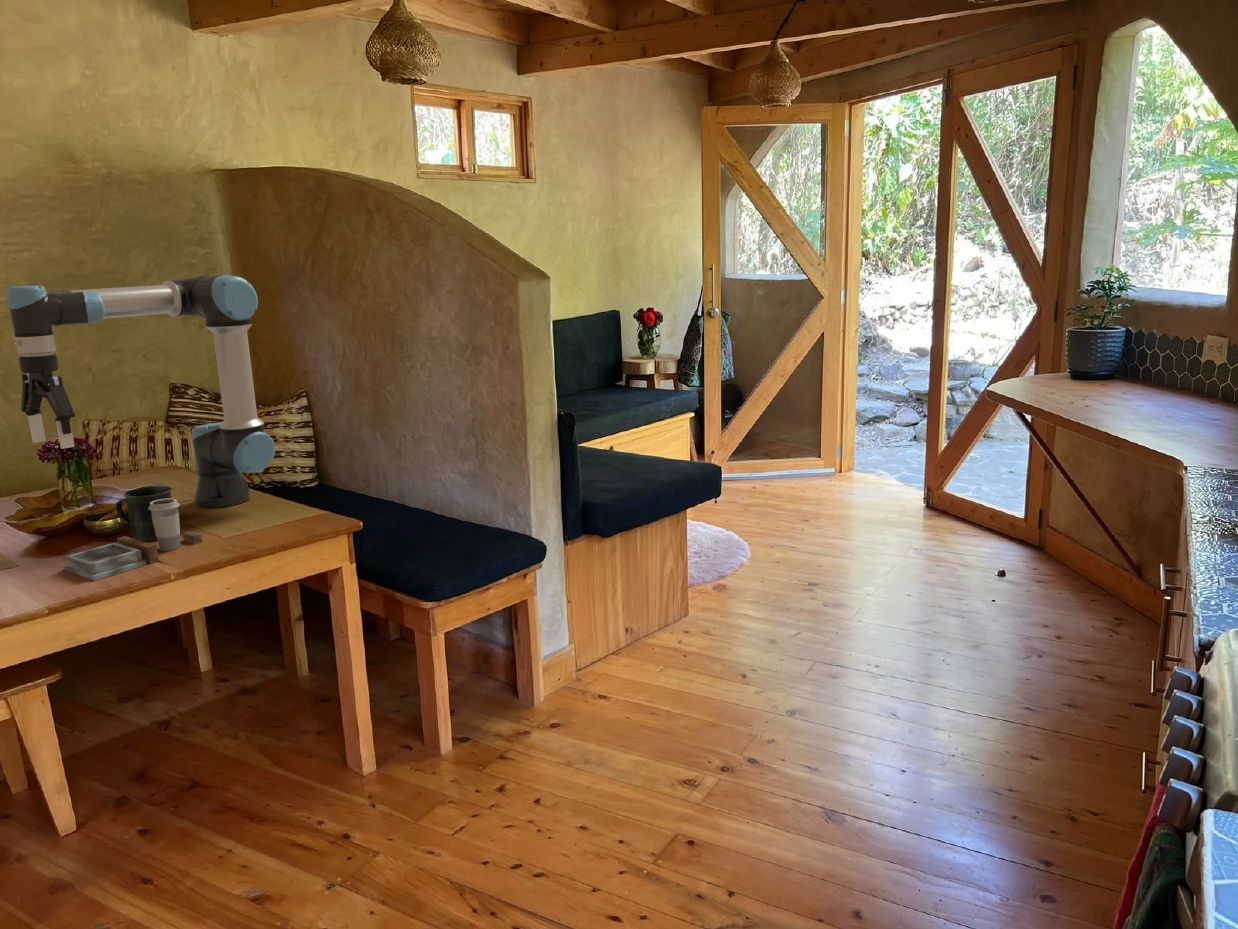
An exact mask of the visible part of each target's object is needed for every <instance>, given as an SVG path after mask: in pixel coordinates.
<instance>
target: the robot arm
mask: <svg viewBox="0 0 1238 929" xmlns="http://www.w3.org/2000/svg"><path fill="white" fill-rule="evenodd" d="M258 300H259V299H258V294H257V292H256V290H255V288H254V287H253V285H252V284H251V283H250V282H248V280H246V279H245V278H243V277H241V276H237V275H231V274H224V275H223V274H222V275H199V276H198V275H197V276H194V277H193V276H192V277H188V278H183V279H176V280H173V279H172V280H165V281H164V282H162V284H160V285H158V284H157V285H155V284H154V285H141V286H124V287H122V286H121V287H120V286H119V287H108V288H107V287H106V288H104V287H103V288H90V289H76V290H75V289H74V290H72V289H71V290H70V289H69V290H55V291H54V290H53V291H47V290H46V288H45V287H44V285H23V286H21V285H20V286H11V287H9V288H8V289H7V303H8V306H7V308H8V310H9V313H10V318H11V324H12V328H13V329H12V330H13V334H14V339H15V341H14V343H13V344H14V346H15V347H16V351H17V354H18V355H20V356H19V357H18V362H19V363H18V364H19V368H20V372H21V373H23V374H21V381H22V386H21V387H22V391H21V406H20V409H21V410H20V411H21V412H22V413H25V415H26V416H27V419H28V420H27V421H28V426H29V431H30V436H31V437H30V438H31V440H32V444H37V443H43V442H47V439H46V432H45V428H44V424H43V423H44V422H43V417H42V416H43V415H42V414H43V412H42V409H41V405H42V401H43V398H44V399H46V401H47V402H48V404H49V405H50V407H51V410H52V411H53V413H54V415H55V417H56V418H55V420H54V421H55V423H56V428H57V435H58V439H59V440H58V441H59V445H60V449H62V450H63V449H69V448H74V447H75V441H74V435H73V434H74V433H73V430H72V423H71V419H72V418H74V417H76V414H75V411H74V409H73V407H72V404H71V402H70V398H69V396H68V394H67V391H66V390H65V387H64V384H63V383H64V382H63V380H62V377H61V376H60V375H58V376H54V374H53V372H54V371H55V372H56V371H58V370H59V362H58V356H57V354H55V352H56V351H57V348H56V342H55V337H54V331H53V327H62V326H74V325H75V326H76V325H90V324H95V323H100V322H102V321H103V320H104V319H116V318H125V317H127V318H128V317H139V316H141V317H142V316H150V315H151V316H152V315H161V314H162V315H163V314H166V315H168V316H169V317H174V318H175V317H191V318H192V317H193V318H201V319H204V321H205V328H206V329H207V330H209V331H210V332H211V333H212V335H213V342H214V349H215V356H216V357H215V359H216V366H217V373H218V380H219V381H218V382H219V388H220V397H221V403H222V404H221V405H222V412H223V421H221V422H213V423H207V424H203V425H198V426H195V427H193V428H192V431H191V433H192V434H191V435H192V436H191V438H192V444H193V450H194V451H193V452H194V458H195V465H196V472H197V483H196V487H195V492H194V496H193V497H194V505H195V506H196V507H200V508H208V509H209V508H210V509H211V508H223V507H230V506H234V505H239V504H242V503H244V502H247V501H250V500H251V498H252V496H251V495H252V494H251V489H250V487H249V485H248V483H247V481H246V480H245V478H244V475H243V474H242V473H244V474H248V473H249V474H251V473H252V474H255V473H259V472H262V471H264V470H265V469H267V468H268V467H269V466H270V464H271V462H272V461H273V460H274V458H275V453H276V445H275V442H274V440H273V437H271V436H270V435H269V434H268V433H266V430H265V422H264V421H263V420H262V419H260V418H259V417H258V413H257V412H258V411H257V402H256V396H255V395H256V393H255V386H254V378H253V370H252V362H251V360H252V359H251V355H250V345H249V338H248V330H249V329H250V328H251V327H252V326H253V321H252V317H253V316H254V314H255V312H256V311H257V310H258V306H259V305H258V304H259V301H258Z"/></svg>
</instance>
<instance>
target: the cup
mask: <svg viewBox="0 0 1238 929" xmlns="http://www.w3.org/2000/svg"><path fill="white" fill-rule="evenodd" d="M178 507H180V503H179V502H178V501H177V499H176V498H172V497H171V498H166V499H159V500H155V501H152V502H150V506H149V508H148V509H149V510H151V513H152V515H151V516H152V520H153V524H154V529H155V533H156V537H157V539H158V540H157V541H158V547H159V550H160V551H161V552H170V551H174V550H175V551H176V550H178V549H180V548H181V538H180V537H181V536H180V535H181V534H180V533H181V527H180V526H181V525H180V512H179V509H178Z"/></svg>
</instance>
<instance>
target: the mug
mask: <svg viewBox="0 0 1238 929" xmlns="http://www.w3.org/2000/svg"><path fill="white" fill-rule="evenodd" d="M172 491H173V488H172V487H171V486H167V485H151V486H150V485H148V486H144V487H143V486H142V487H137V488H133V489H130V490H127V491H126V492H124V493H123V497H124V498H123V499H119V500H118V501H117V502H116V504H115V505H116V507H115V508H116V511H117V512H116V513H117V515H118V518H120V520H121V521H122V522H123V523H124V524H126V525H128V526H129V527H130V531H131V538H133V539H137V540H140V541H144V542H147V541H148V542H150V541H156V540H157V541H158V539H157V537H156V533H155V529H154V524H153V520H152V516H151V515H152V513H151V510H149V509H148V508H149V506H150V502H152V501H155V500H159V499H166V498H172V493H171V492H172ZM123 503H126V506H127V513H128V517H127V515H126V514H125V511H124V509H123Z"/></svg>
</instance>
